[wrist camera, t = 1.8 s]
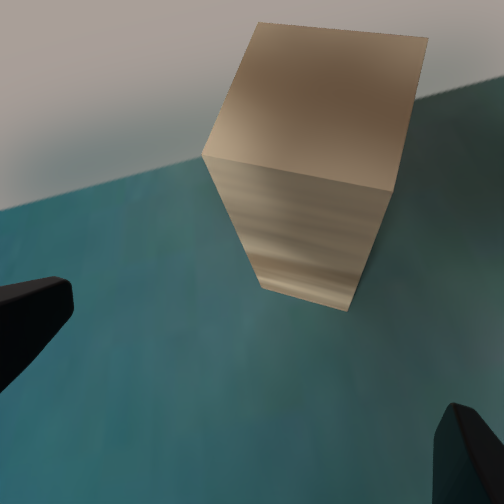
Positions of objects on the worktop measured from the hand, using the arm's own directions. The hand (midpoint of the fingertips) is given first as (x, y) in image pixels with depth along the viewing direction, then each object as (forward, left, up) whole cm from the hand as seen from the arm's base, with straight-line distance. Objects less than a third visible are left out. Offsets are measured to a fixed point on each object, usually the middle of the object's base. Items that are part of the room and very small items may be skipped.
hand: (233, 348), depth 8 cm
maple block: (+6, -4, -13) cm, 14 cm away
